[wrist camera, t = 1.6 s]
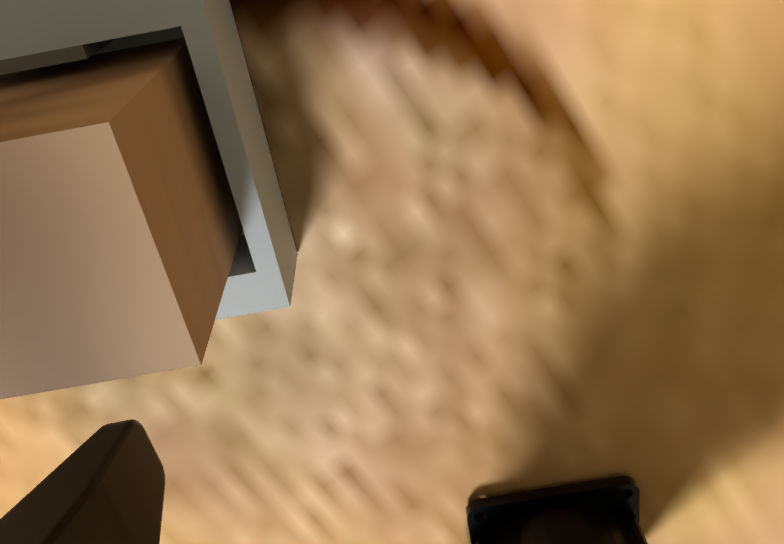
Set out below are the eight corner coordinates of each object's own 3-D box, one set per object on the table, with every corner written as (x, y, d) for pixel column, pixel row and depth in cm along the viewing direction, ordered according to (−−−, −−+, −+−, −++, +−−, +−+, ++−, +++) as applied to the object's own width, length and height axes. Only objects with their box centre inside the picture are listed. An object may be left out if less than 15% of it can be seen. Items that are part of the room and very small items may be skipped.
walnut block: (192, 35, 18) (108, 122, 11) (246, 215, 20) (201, 365, 14) (-40, 79, 18) (-242, 186, 12) (42, 252, 20) (-91, 415, 14)
